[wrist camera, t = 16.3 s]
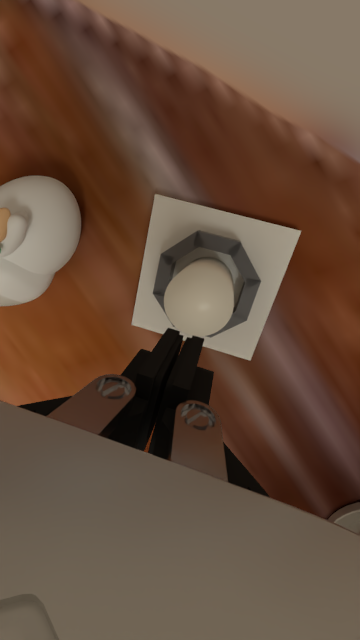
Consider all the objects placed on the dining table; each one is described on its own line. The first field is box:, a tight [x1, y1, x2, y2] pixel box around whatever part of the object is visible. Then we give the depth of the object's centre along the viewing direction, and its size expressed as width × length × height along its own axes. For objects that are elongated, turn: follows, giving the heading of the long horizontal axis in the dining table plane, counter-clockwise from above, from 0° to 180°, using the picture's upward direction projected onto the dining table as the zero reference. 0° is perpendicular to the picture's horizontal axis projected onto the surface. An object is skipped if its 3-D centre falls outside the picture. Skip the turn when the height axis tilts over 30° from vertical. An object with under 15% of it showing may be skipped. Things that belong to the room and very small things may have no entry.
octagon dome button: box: [131, 194, 301, 360], centre depth 25 cm, size 13×13×3 cm
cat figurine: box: [0, 176, 81, 306], centre depth 25 cm, size 10×8×15 cm
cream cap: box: [164, 257, 234, 336], centre depth 22 cm, size 5×5×7 cm
